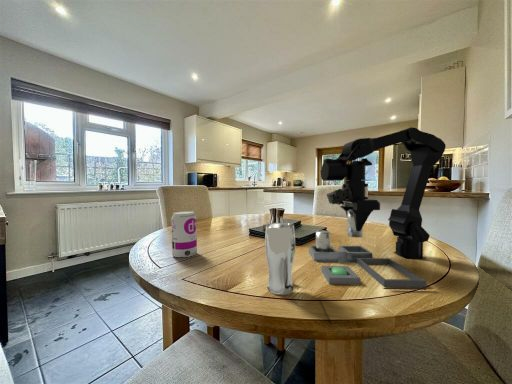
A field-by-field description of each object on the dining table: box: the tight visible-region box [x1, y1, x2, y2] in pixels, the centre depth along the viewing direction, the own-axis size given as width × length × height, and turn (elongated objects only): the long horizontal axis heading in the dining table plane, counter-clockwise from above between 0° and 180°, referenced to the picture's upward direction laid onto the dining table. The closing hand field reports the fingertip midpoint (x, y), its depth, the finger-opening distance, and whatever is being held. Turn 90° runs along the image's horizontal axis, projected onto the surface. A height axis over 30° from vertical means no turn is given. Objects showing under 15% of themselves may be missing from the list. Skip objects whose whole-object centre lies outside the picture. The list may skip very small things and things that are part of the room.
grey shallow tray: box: [308, 245, 373, 264], centre depth 67 cm, size 17×10×4 cm, turn 87°
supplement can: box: [171, 210, 198, 258], centre depth 73 cm, size 8×8×15 cm
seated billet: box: [315, 230, 331, 252], centre depth 67 cm, size 4×4×8 cm
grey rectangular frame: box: [356, 257, 427, 291], centre depth 54 cm, size 9×14×2 cm, turn 177°
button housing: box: [321, 265, 361, 285], centre depth 52 cm, size 7×7×2 cm
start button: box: [332, 267, 347, 275], centre depth 52 cm, size 4×4×2 cm
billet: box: [346, 210, 364, 238], centre depth 66 cm, size 4×4×8 cm
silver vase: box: [264, 222, 296, 296], centre depth 49 cm, size 7×7×15 cm
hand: (355, 229), depth 66 cm, fingers closed on billet, 4 cm apart
